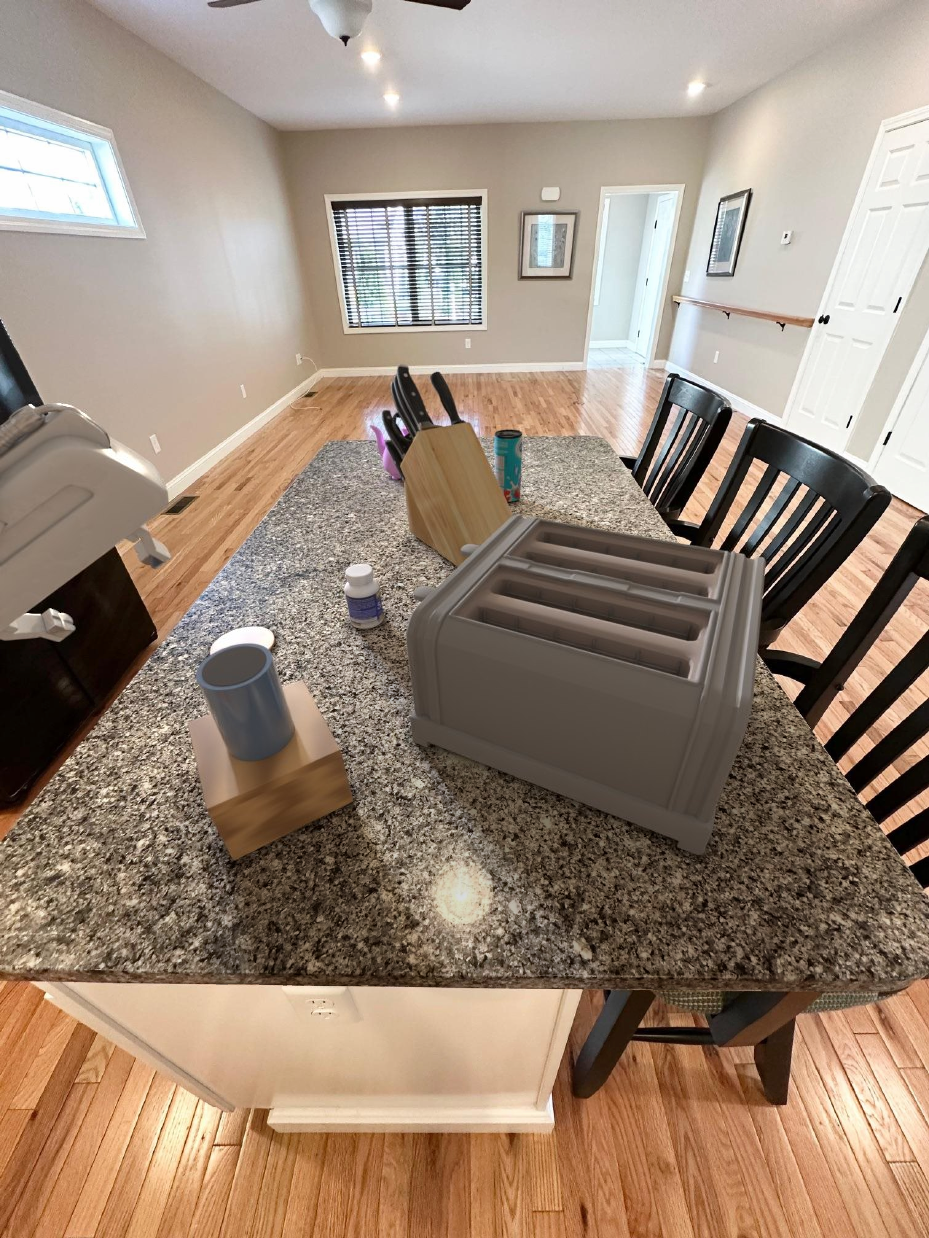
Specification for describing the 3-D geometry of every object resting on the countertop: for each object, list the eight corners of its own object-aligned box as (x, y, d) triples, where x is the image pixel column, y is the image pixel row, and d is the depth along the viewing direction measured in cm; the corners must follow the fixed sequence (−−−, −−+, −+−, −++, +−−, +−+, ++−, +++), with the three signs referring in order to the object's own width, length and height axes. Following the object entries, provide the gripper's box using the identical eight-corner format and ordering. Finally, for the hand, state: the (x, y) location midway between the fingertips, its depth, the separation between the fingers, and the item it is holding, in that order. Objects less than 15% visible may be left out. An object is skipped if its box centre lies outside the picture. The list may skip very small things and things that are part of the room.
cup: (233, 772, 47) (201, 700, 42) (220, 728, 51) (190, 658, 46) (302, 742, 49) (280, 671, 44) (284, 703, 54) (262, 634, 49)
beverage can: (517, 506, 115) (519, 437, 107) (491, 503, 117) (491, 436, 108) (522, 496, 120) (525, 430, 111) (498, 494, 121) (498, 428, 113)
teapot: (361, 479, 132) (354, 431, 125) (389, 462, 143) (384, 417, 136) (430, 488, 126) (427, 438, 119) (454, 470, 136) (452, 422, 129)
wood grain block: (233, 861, 48) (206, 809, 44) (211, 773, 57) (187, 722, 52) (353, 801, 53) (340, 749, 49) (317, 728, 62) (302, 678, 57)
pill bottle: (387, 624, 79) (380, 574, 74) (354, 633, 77) (344, 582, 72) (379, 607, 83) (372, 558, 78) (347, 615, 81) (337, 565, 76)
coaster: (216, 674, 71) (215, 672, 70) (205, 641, 77) (205, 639, 77) (281, 651, 74) (281, 649, 74) (266, 621, 81) (265, 619, 80)
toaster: (492, 602, 83) (492, 500, 73) (732, 663, 69) (772, 547, 59) (383, 730, 61) (362, 609, 51) (702, 857, 47) (758, 725, 37)
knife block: (433, 506, 117) (422, 354, 99) (531, 568, 92) (540, 381, 74) (388, 518, 112) (369, 361, 94) (479, 587, 87) (475, 392, 69)
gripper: (37, 357, 29) (205, 490, 42) (-251, 571, 29) (5, 640, 42) (63, 421, 27) (234, 542, 40) (-251, 655, 27) (21, 701, 39)
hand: (114, 593), depth 41 cm, fingers open, 8 cm apart
